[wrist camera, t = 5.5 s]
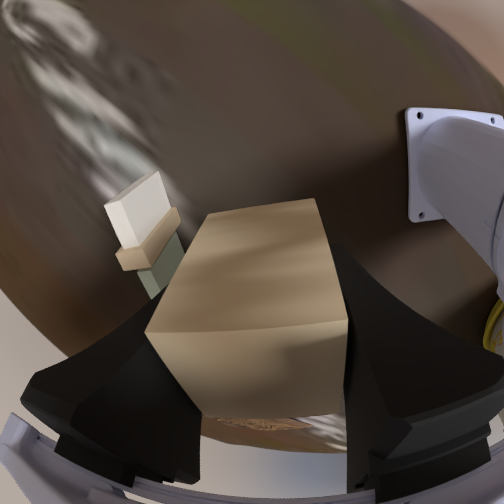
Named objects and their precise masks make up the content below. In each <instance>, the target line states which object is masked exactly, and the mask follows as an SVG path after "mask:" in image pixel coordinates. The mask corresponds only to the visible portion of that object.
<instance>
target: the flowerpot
mask: <svg viewBox="0 0 504 504" xmlns="http://www.w3.org/2000/svg"><path fill="white" fill-rule="evenodd" d="M503 317H504V303H503V301H502V300H501V298H499V299H498V301H497V302H496V304H495V306H494V307H493V309H492V311H491V313H490V315H489V317H488V320H487V322H486V326H485V333H484V337H483V345H484V347H485V349H486V350H489V351H491V352H494V353H496V354H499V355H501V356H503V358H504V344H503V338H502V323H503ZM498 414H499V417H500V418H501V421H502V422H503V425H504V408H503V409H502V410H501V411H500V412H499V413H498Z"/></svg>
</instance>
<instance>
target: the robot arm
mask: <svg viewBox="0 0 504 504" xmlns="http://www.w3.org/2000/svg"><path fill="white" fill-rule="evenodd" d="M418 112H420V114H421V117H420V118H419V119H418V118H417V113H418ZM491 118H492V122H491ZM405 122H406V133H407V147H408V170H409V204H408V217H409V219H410V220H411V221H412V222H422V221H430V220H437V219H446V220H447V221H448V222H449V223H450V224H451V225H452V226H453V227H454V228H455V229H456V230H457V231H458V232H459V233H460V234H461V235H462V236H463V238H464V239H465V240H466V241H467V242H468V243H469V244H470V245H471V246H472V247H473V248H474V249H475V251H476V252H477V253H478V254H479V255H480V256H481V257H482V259H483V260H484V261H485V262H486V263H487V265H488V266H489V267H490V268H491V269H492V271H493V272H494V273H495V274H496V276H497V278H498V288H497V294H498V295H499V297H500V298H501V300H502V301H503V303H504V119H503V117H502V116H501V115H498V114H491V113H484V112H476V111H467V110H456V109H442V108H407V109H406V111H405ZM421 212H423V213H422V215H421V216H420V217H419V214H420V213H421ZM329 247H330V251H331V254H332V258H333V262H334V265H335V269H336V273H337V276H338V280H339V284H340V288H341V292H342V296H343V300H344V304H345V308H346V312H347V317H348V332H347V348H346V361H345V372H344V382H343V388H344V399H345V413H346V432H347V494H342V495H334V496H324V497H314V498H313V497H312V498H294V499H292V498H291V499H269V498H248V497H236V496H226V495H218V494H210V493H204V492H198V491H192V490H187V489H183V488H178V487H174V486H169V485H165V484H162V483H163V481H166V482H170V483H174V481H176V482H181V483H185V484H191V485H192V484H195V483H196V482H198V481H199V480H200V434H201V420H202V412H201V411H200V410H199V408H198V407H197V406H196V405H195V403H194V402H193V401H192V400H191V398H190V397H189V396H188V395H187V393H186V392H185V391H184V389H183V388H182V387H181V385H180V384H179V383H178V381H177V380H176V379H175V377H174V376H173V374H172V373H171V372H170V370H169V369H168V367H167V366H166V365H165V363H164V362H163V360H162V359H161V357H160V356H159V354H158V353H157V351H156V350H155V348H154V347H153V345H152V344H151V342H150V341H149V339H148V338H147V336H146V334H145V333H144V332H145V330H146V328H147V326H148V324H149V322H150V320H151V318H152V316H153V314H154V312H155V310H156V308H157V306H158V304H159V302H160V300H161V298H162V296H163V295H164V293H165V291H166V289H167V287H168V285H169V284H168V285H167V286H165V287H164V288H163V289H162V290H161V291H160V292H159V293H158V294H157V295H156V296H155V297H154V298H153V299H151V300H150V301H149V302H148V303H147V304H146V305H145V306H144V307H143V308H141V309H140V310H139V311H138V312H137V313H136V314H135V315H133V316H132V317H131V318H130V319H128V320H127V321H126V322H125V323H123V324H122V325H121V326H119V327H118V328H117V329H115V330H114V331H113V332H111V333H110V334H108V335H107V336H105V337H104V338H102V339H100V340H99V341H97V342H96V343H94V344H93V345H91V346H90V347H88V348H86V349H85V350H83V351H81V352H79V353H77V354H76V355H74V356H72V357H70V358H68V359H66V360H64V361H62V362H60V363H58V364H55V365H53V366H51V367H48V368H45V369H43V370H41V371H38V372H36V373H35V374H34V375H33V376H32V378H31V379H30V381H29V383H28V385H27V387H26V389H25V391H24V392H23V394H22V396H21V398H20V400H21V403H22V405H23V406H24V407H25V408H26V409H27V410H28V411H30V413H32V414H33V415H34V416H35V417H36V418H38V419H39V420H40V421H42V422H43V423H44V424H45V425H47V426H48V427H50V428H51V429H53V430H54V431H55V432H56V433H58V434H59V435H60V437H59V439H58V442H55V441H54V440H52V439H50V438H48V437H47V436H45V435H43V434H42V433H40V432H39V431H38V430H36V429H35V428H34V427H33V426H31V425H30V424H29V423H27V422H26V421H25V420H23V419H22V418H20V417H19V416H17V415H16V414H14V413H11V414H10V416H9V418H8V420H7V422H6V425H5V427H4V429H3V431H2V434H1V436H0V463H1V464H2V465H3V466H4V467H5V468H6V470H7V471H8V472H9V473H10V474H11V476H12V477H13V478H14V480H15V481H16V483H17V484H18V486H19V487H20V489H21V490H22V491H23V493H24V494H25V496H26V497H27V498H28V499H29V501H30V502H31V504H144V503H141V502H137V501H134V500H131V499H128V498H127V497H126V496H125V493H124V492H123V490H124V491H127V492H130V493H132V494H135V495H138V496H141V497H144V498H147V499H151V500H154V501H157V502H160V503H164V504H401V503H403V504H504V439H503V440H501V441H499V442H498V443H496V444H494V445H492V446H490V447H489V446H488V442H487V436H489V435H490V434H491V429H490V425H489V421H490V420H491V419H493V418H494V417H495V416H496V415H497V414H498V413H499V412H500V411H501V410H502V409H503V408H504V358H503V356H501V355H499V354H496V353H494V352H491V351H489V350H486V349H484V348H482V347H479V346H477V345H474V344H472V343H470V342H468V341H466V340H464V339H462V338H460V337H458V336H456V335H454V334H452V333H450V332H448V331H446V330H445V329H443V328H441V327H439V326H437V325H436V324H434V323H433V322H431V321H429V320H428V319H426V318H424V317H423V316H421V315H420V314H418V313H417V312H415V311H414V310H412V309H411V308H410V307H408V306H407V305H405V304H404V303H403V302H401V301H400V300H399V299H397V298H396V297H395V296H394V295H392V294H391V293H390V292H389V291H388V290H386V289H385V288H384V287H383V286H382V285H381V284H380V283H378V282H377V281H376V280H375V279H374V278H373V277H372V276H371V275H370V274H369V273H368V272H367V271H366V270H365V269H364V268H363V267H362V266H361V265H360V264H359V263H358V262H357V261H356V260H355V259H354V258H353V257H352V256H351V255H350V254H349V253H348V252H347V250H346V249H345V248H344V247H343V246H342V245H341V244H332V245H329ZM502 338H503V344H504V317H503V323H502ZM121 489H122V490H121Z"/></svg>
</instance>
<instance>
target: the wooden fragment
mask: <svg viewBox="0 0 504 504" xmlns="http://www.w3.org/2000/svg"><path fill="white" fill-rule="evenodd" d="M202 416H204V414H203V413H202ZM211 418H214V417H211ZM214 419H216V420H220V421H221V422H222V423H224V424H226V425H230V426H235V427H243V428H252V429H255V430H267V431H268V430H270V431H275V430H278V429H280V430H283V429H288V428H294V429H297V428H305V427H311V426H313V425H310V424H307V423H302V422H300V421H296V420H293V419H290V418H274V419H235V418H214Z"/></svg>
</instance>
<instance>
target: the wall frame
mask: <svg viewBox="0 0 504 504" xmlns="http://www.w3.org/2000/svg"><path fill="white" fill-rule="evenodd" d="M104 207H105V209H106V212H107V214H108V216H109V219H110V221H111V223H112V225H113V228H114V230H115V232H116V234H117V237H118V239H119V241H120V243H121V245H122V246H121V248H120V249H119V250H118V251H117V252H116V254H115V255H116V257H117V259H118V261H119V263H120V265H121V266H122V268H123V270H124V271H128V270H135V269H142V268H149V267H152V265H153V263H154V262H155V260H156V259H157V257H158V256H159V254H160V253H161V251H162V250H163V248H164V247H165V245H166V244H167V242H168V241H169V239H170V238H171V236H172V235H173V233H174V232H175V230H176V229H177V227H178V226H179V224H180V223H181V219H180V216H179V213H178V211H177V208H176V207H172V208H171V206H170V203H169V200H168V198H167V195H166V192H165V189H164V186H163V183H162V180H161V177H160V174H159V171H157V172H154V173H150V174H147V175H144V176H143V177H141V178H140V179H138V180H137V181H136V182H134V183H133V184H131V185H130V186H129V187H127V188H126V189H125V190H123V191H122V192H121V193H119V194H118V195H117V196H115V197H114V198H113V199H111V200H110V201H109V202H108V203H106V204H105V205H104Z"/></svg>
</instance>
